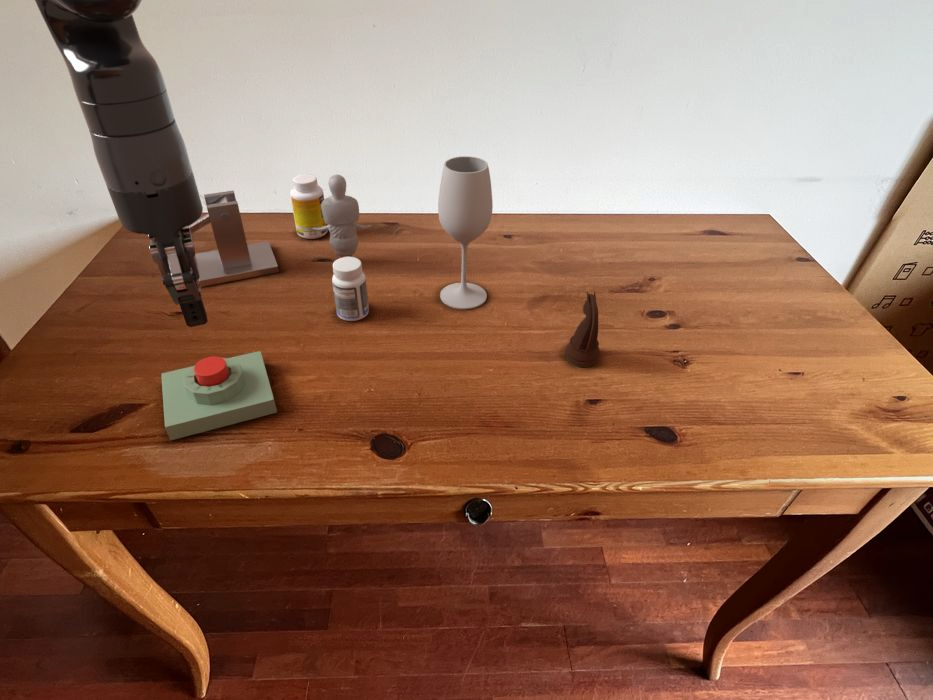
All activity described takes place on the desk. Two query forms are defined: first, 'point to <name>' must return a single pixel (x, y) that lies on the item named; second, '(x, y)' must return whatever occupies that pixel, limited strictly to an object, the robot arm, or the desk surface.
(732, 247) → the desk surface
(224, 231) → the lever stand
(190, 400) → the button block
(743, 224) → the desk surface
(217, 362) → the red button
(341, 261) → the pill bottle
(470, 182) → the wineglass
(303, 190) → the supplement bottle
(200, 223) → the lever handle
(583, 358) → the chess piece
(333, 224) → the figurine
